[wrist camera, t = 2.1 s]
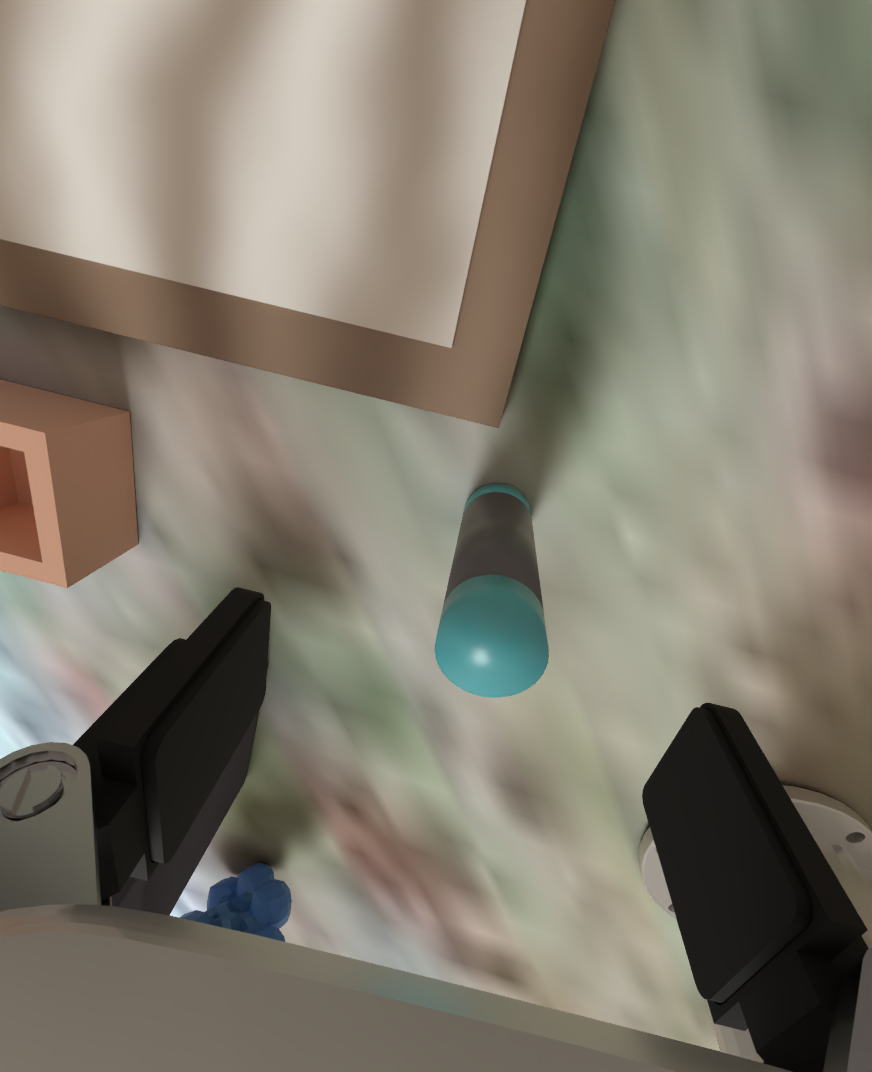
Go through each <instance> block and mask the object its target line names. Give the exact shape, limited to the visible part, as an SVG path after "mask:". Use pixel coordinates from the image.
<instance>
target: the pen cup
mask: <svg viewBox="0 0 872 1072" xmlns="http://www.w3.org/2000/svg"><path fill="white" fill-rule="evenodd" d="M136 545H138V530H137V515H136V500H135V484H134V469H133V454H132V438H131V423H130V412H129V411H125V410H121V409H117V408H113V407H109V406H105V405H101V404H97V403H93V402H89V401H85V400H81V399H77V398H73V397H69V396H65V395H61V394H57V393H53V392H49V391H45V390H41V389H37V388H33V387H29V386H26V385H22V384H18V383H14V382H10V381H6V380H2V379H0V570H1V571H5V572H9V573H13V574H16V575H20V576H24V577H28V578H32V579H35V580H39V581H43V582H47V583H50V584H54V585H58V586H62V587H66V588H68V587H70V586H71V585H73V584H75V583H76V582H78V581H80V580H81V579H83V578H84V577H86V576H88V575H89V574H91V573H92V572H94V571H96V570H97V569H99V568H101V567H102V566H104V565H105V564H107V563H109V562H110V561H112V560H114V559H115V558H117V557H118V556H120V555H122V554H123V553H125V552H127V551H128V550H130V549H131V548H133V547H135V546H136Z"/></svg>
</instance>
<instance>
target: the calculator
mask: <svg viewBox="0 0 872 1072" xmlns="http://www.w3.org/2000/svg"><path fill="white" fill-rule="evenodd" d="M267 668H268V660H267ZM258 714H259V711H258V713H257V714H256V716H255V718H254V720H253V721H252V723H251V725H250V726H249V728H248V730H247V732H246V733H245V735H244V737H243V738H242V740H241V742H240V743H239V745H238V747H237V749H236V750H235V752H234V754H233V755H232V757H231V759H230V761H229V762H228V764H227V766H226V767H225V769H224V771H223V773H222V774H221V776H220V778H219V779H218V781H217V783H216V785H215V786H214V788H213V790H212V791H211V793H210V795H209V797H208V798H207V800H206V802H205V803H204V805H203V807H202V809H201V810H200V812H199V814H198V815H197V817H196V819H195V821H194V822H193V824H192V826H191V827H190V829H189V831H188V832H187V834H186V836H185V838H184V839H183V841H182V843H181V844H180V846H179V848H178V850H177V851H176V853H175V855H174V856H173V858H172V859H171V860H170V861H169V862H168V863H167V864H164V863H160V862H159V864H158V866H157V867H156V869H155V871H154V872H153V874H152V876H151V877H150V879H149V881H145V880H141V879H137V878H133V877H129V878H128V880H127V881H126V883H125V884H124V886H123V888H122V889H121V891H120V892H119V893H117V894H115V895H113V896H112V906H115V907H122V908H128V909H134V910H140V911H146V912H152V913H158V914H164V915H170V913H171V911H172V910H173V908H174V906H175V904H176V902H177V901H178V899H179V897H180V895H181V894H182V892H183V890H184V888H185V887H186V885H187V883H188V881H189V879H190V878H191V876H192V874H193V872H194V871H195V869H196V867H197V865H198V864H199V862H200V860H201V858H202V856H203V855H204V853H205V851H206V849H207V848H208V846H209V844H210V842H211V840H212V839H213V837H214V835H215V833H216V832H217V830H218V828H219V826H220V825H221V823H222V821H223V819H224V817H225V816H226V814H227V812H228V810H229V809H230V807H231V805H232V803H233V801H234V800H235V798H236V796H237V794H238V793H239V791H240V789H241V787H242V786H243V784H244V782H245V779H246V775H247V770H248V765H249V760H250V755H251V750H252V745H253V739H254V734H255V729H256V724H257V719H258Z"/></svg>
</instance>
